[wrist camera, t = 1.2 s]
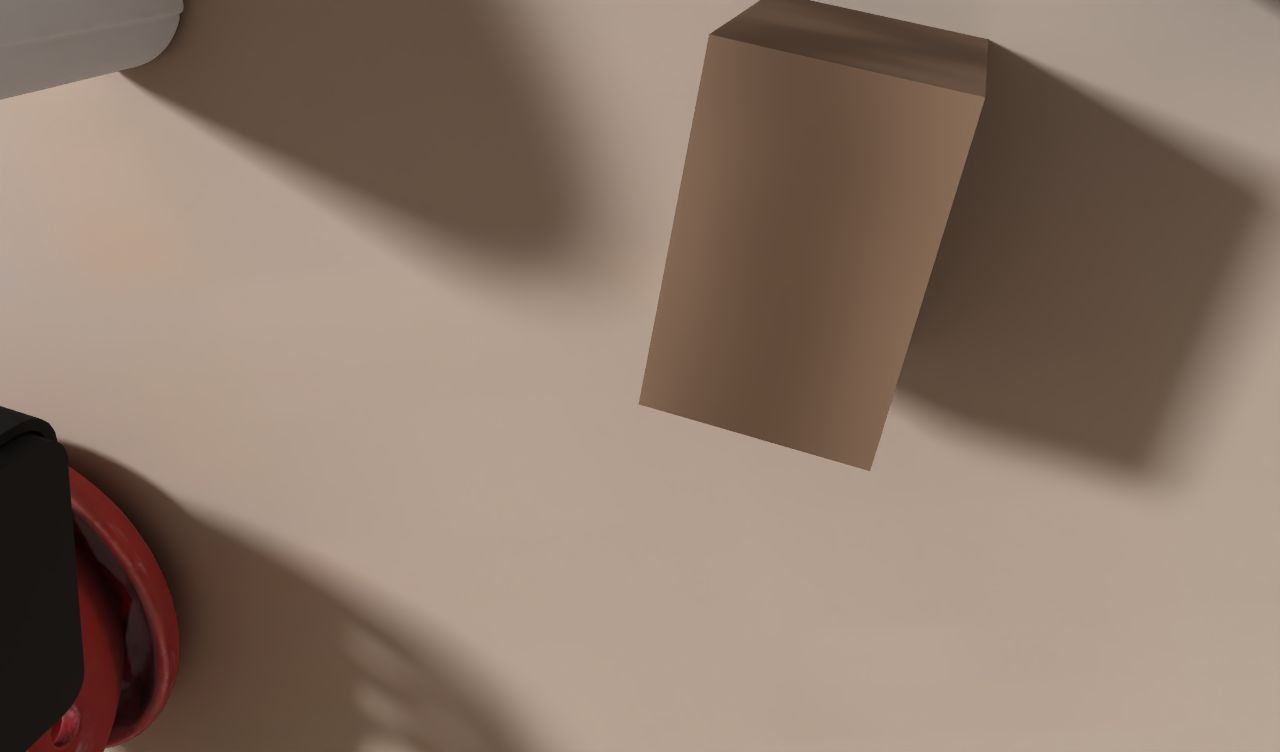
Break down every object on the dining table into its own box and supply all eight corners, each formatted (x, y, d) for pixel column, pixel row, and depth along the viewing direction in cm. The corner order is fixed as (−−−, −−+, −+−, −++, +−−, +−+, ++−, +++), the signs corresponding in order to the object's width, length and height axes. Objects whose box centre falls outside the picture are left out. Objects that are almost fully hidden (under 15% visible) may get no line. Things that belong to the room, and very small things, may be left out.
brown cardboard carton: (988, 39, 23) (985, 97, 18) (895, 345, 26) (869, 470, 21) (773, -9, 24) (709, 34, 19) (708, 294, 27) (638, 404, 22)
